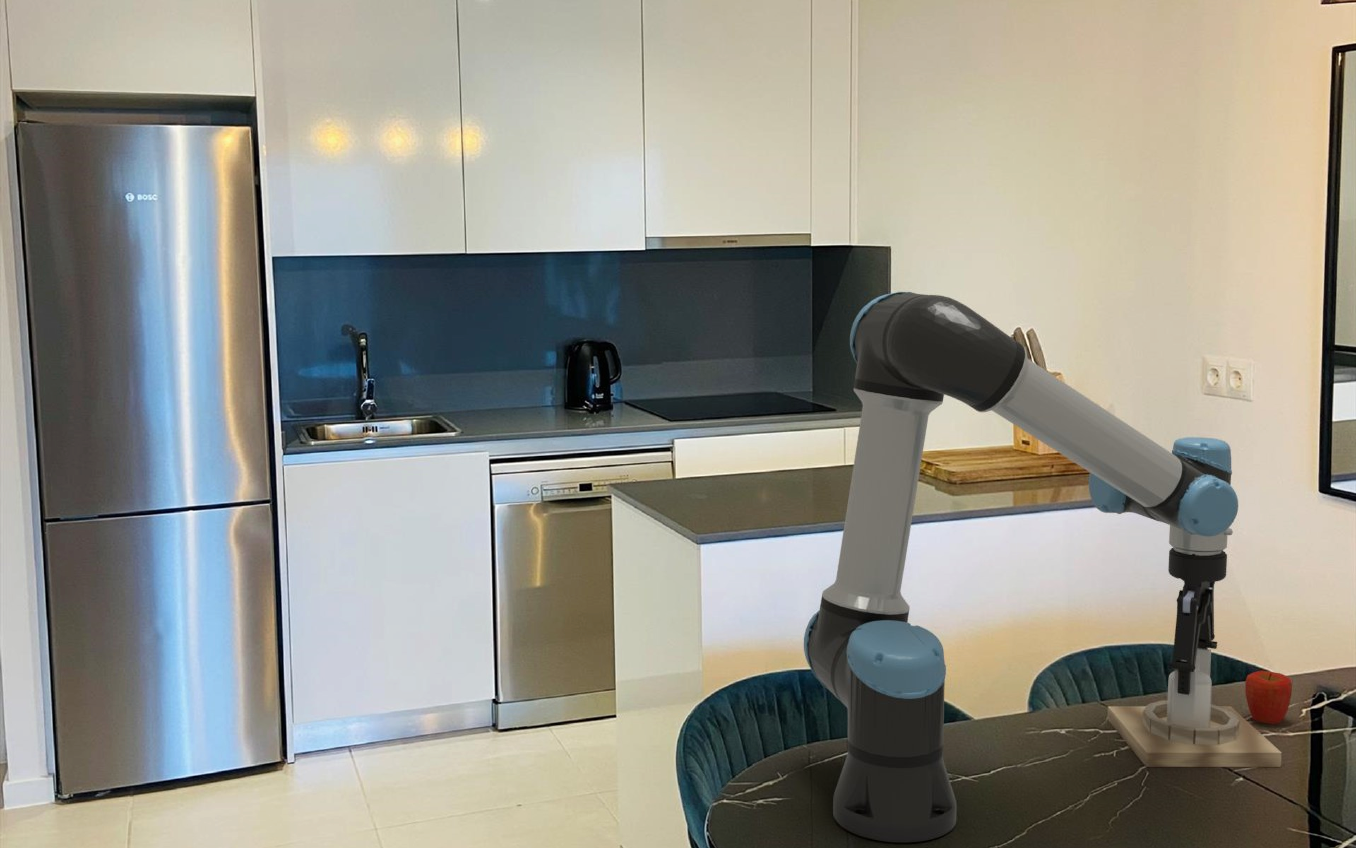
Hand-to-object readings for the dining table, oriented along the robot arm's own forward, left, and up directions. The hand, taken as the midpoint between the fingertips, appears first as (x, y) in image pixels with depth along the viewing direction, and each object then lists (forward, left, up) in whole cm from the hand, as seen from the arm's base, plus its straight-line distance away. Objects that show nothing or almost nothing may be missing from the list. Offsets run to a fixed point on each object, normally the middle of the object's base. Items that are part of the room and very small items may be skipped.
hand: (1191, 703), depth 186 cm
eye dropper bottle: (0, 0, -4) cm, 4 cm away
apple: (+14, +8, -6) cm, 17 cm away
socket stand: (0, 0, -6) cm, 6 cm away
